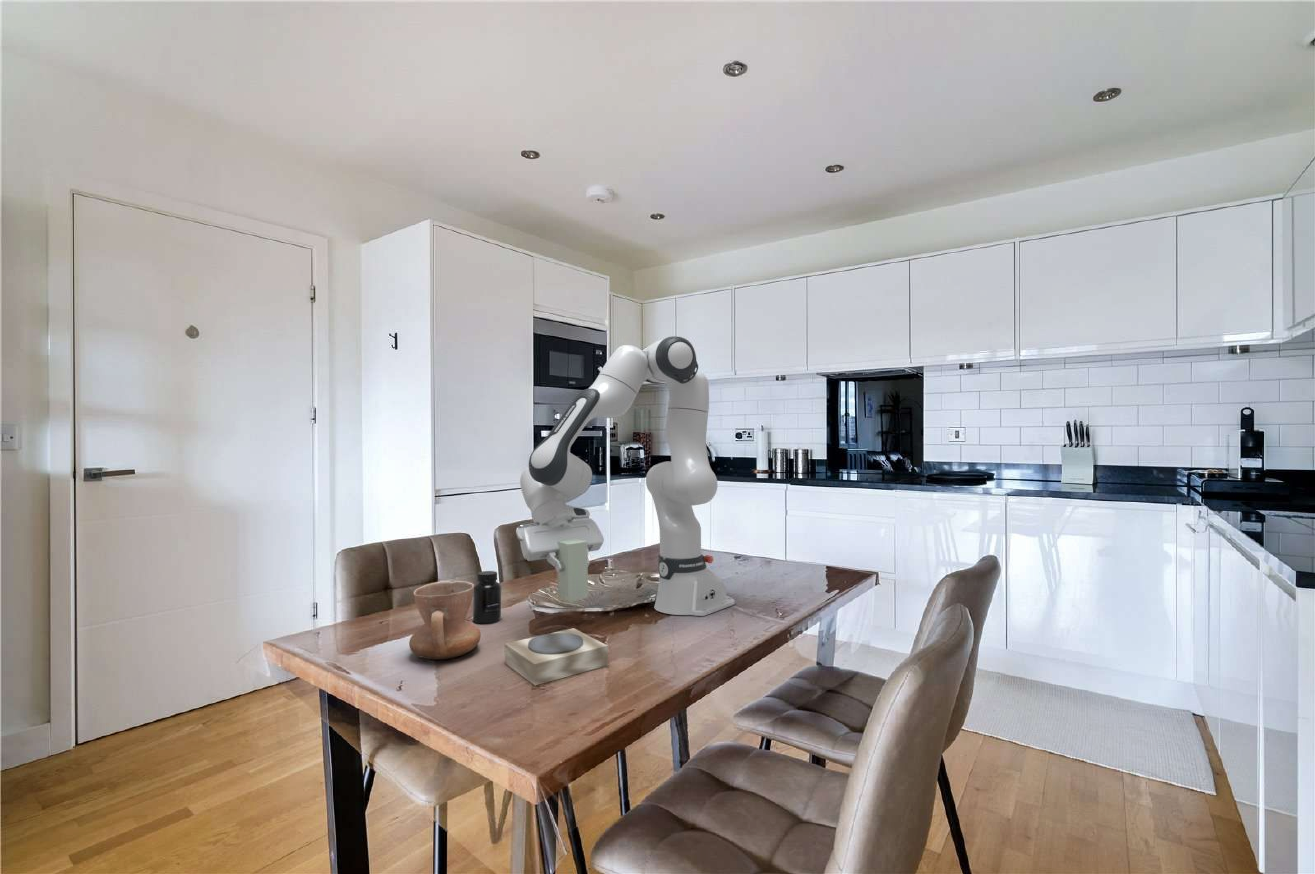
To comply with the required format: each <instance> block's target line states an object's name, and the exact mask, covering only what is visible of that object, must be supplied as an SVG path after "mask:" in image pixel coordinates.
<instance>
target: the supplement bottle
mask: <svg viewBox="0 0 1315 874" xmlns="http://www.w3.org/2000/svg"><path fill="white" fill-rule="evenodd" d="M476 575H477V576H476V577H477V578H476V581H477V583H475V584H474V592H473V597H472V621H473V623H475V624H481V625H485V624H486V625H487V624H493V623H497V622H498V621H500V620H501V617H502V585H501V584H500V583H499V582H498V572H497V571H495V570H486V571H480V572H477V574H476Z"/></svg>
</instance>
